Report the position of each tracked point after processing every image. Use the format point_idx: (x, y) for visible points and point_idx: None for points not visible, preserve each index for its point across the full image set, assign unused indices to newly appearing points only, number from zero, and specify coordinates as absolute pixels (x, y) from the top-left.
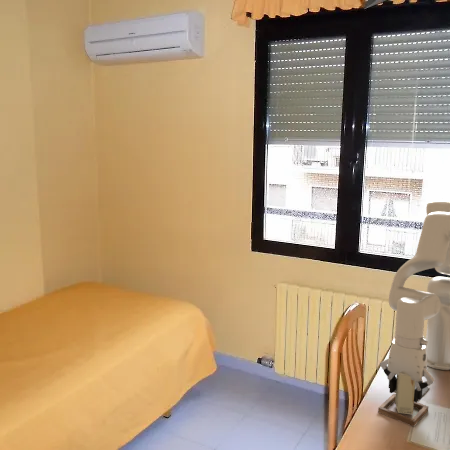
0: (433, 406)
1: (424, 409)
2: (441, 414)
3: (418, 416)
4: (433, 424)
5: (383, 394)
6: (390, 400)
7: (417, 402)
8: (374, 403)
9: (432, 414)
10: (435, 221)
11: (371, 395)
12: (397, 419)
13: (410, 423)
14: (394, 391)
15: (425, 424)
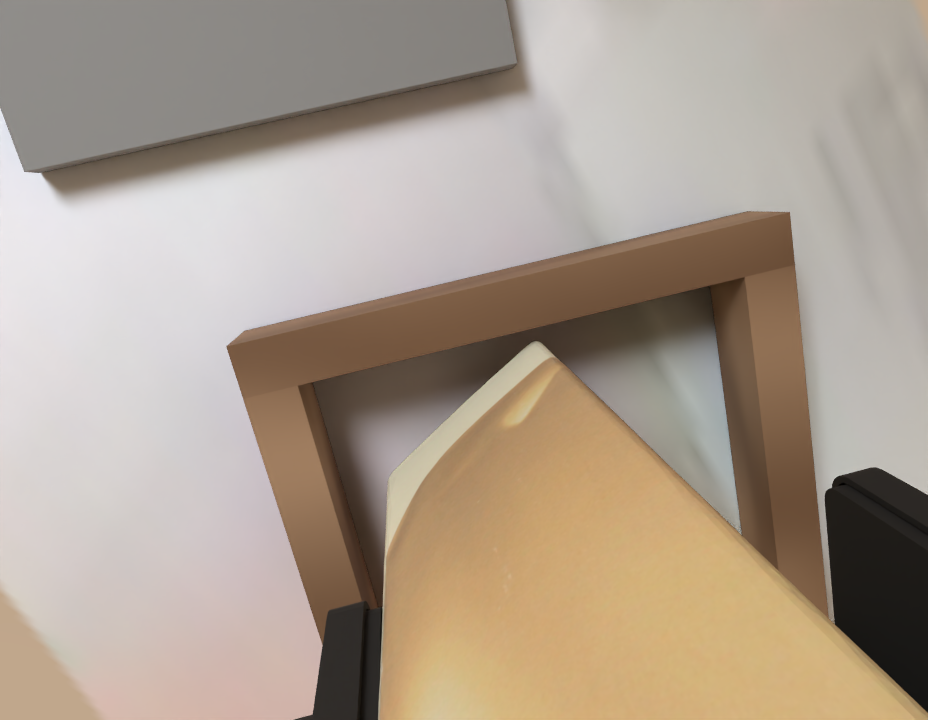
0: (741, 21)
1: (791, 335)
2: (904, 124)
3: (815, 544)
4: (922, 415)
5: (91, 380)
6: (349, 558)
7: (628, 256)
8: (209, 658)
9: (823, 231)
10: None
11: (24, 549)
12: None
13: None
14: (113, 155)
15: None
